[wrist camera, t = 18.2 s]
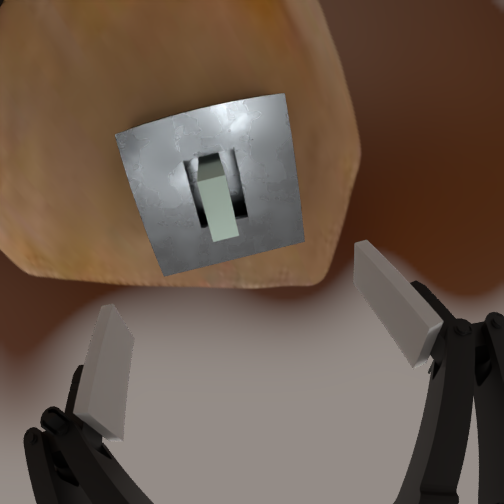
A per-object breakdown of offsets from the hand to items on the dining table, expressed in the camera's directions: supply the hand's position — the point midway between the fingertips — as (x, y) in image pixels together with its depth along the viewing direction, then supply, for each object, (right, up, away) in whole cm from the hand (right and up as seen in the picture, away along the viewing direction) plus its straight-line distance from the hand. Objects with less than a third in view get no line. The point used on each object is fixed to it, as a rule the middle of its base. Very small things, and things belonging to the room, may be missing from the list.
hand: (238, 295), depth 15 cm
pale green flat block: (-4, +12, +21) cm, 25 cm away
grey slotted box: (-4, +12, +22) cm, 25 cm away
